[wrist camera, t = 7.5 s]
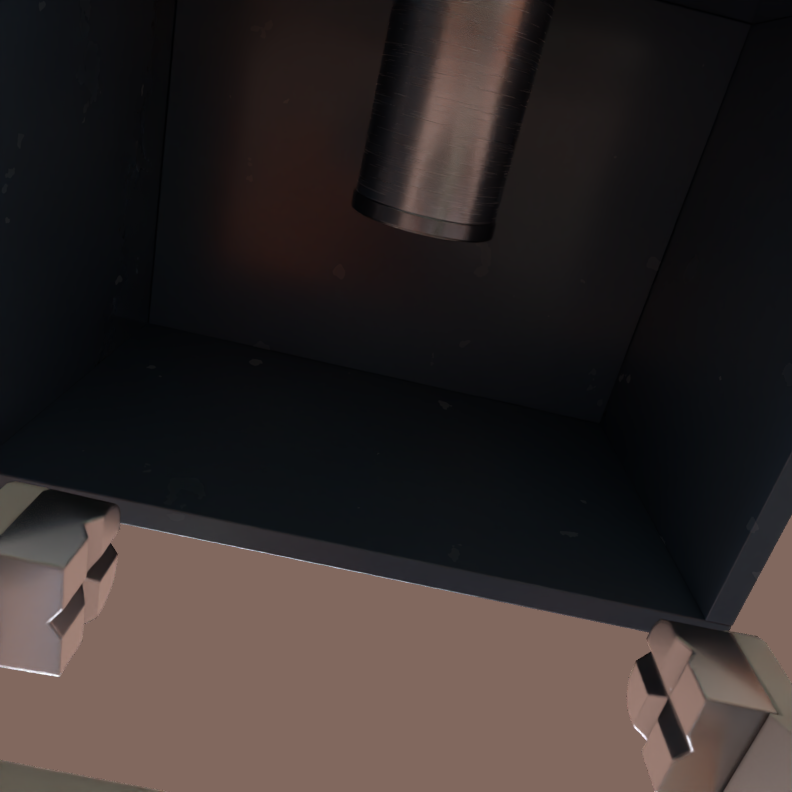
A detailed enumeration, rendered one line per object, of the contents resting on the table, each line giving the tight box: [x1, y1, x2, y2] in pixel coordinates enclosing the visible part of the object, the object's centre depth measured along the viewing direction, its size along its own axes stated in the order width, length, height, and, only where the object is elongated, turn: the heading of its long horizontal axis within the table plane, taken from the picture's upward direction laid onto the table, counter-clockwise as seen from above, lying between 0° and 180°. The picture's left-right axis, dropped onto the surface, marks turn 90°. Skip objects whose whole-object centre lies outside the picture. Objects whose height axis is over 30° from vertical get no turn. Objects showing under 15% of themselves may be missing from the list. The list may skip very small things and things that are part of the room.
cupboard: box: [0, 0, 792, 633], centre depth 33 cm, size 20×32×26 cm, turn 92°
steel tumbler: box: [351, 0, 556, 243], centre depth 28 cm, size 6×6×12 cm
